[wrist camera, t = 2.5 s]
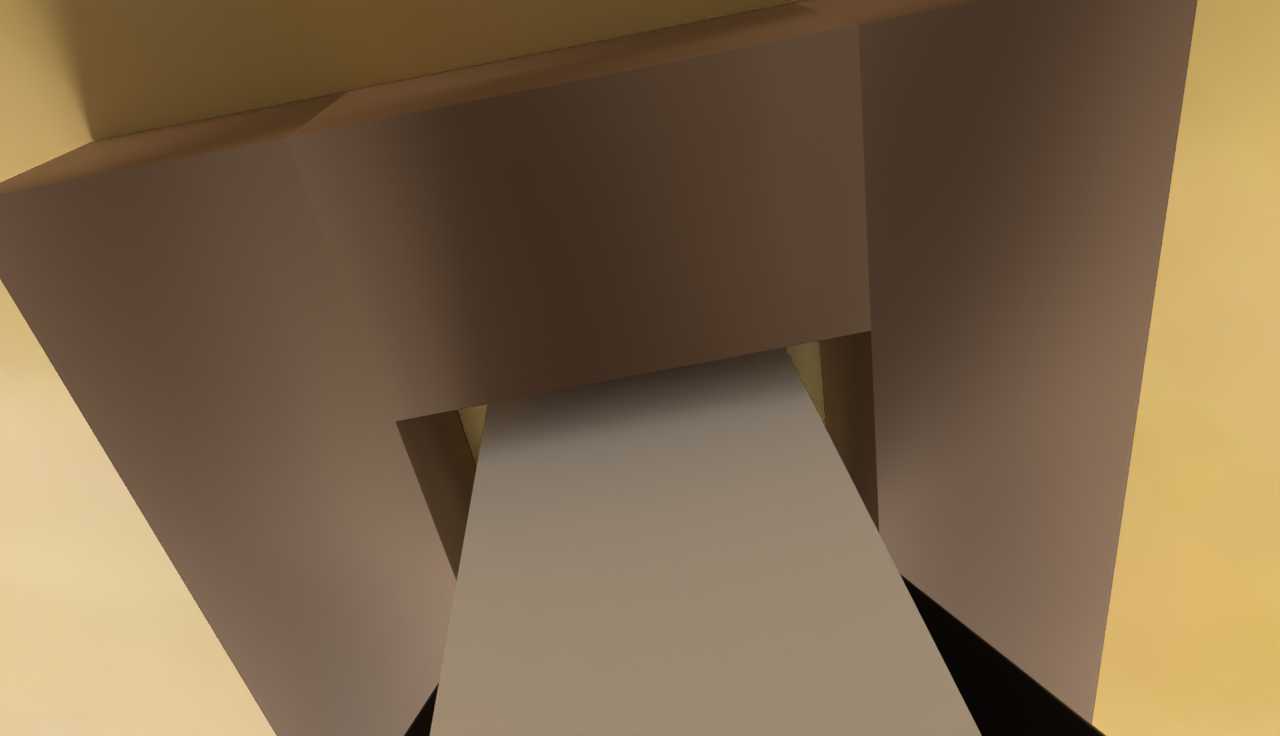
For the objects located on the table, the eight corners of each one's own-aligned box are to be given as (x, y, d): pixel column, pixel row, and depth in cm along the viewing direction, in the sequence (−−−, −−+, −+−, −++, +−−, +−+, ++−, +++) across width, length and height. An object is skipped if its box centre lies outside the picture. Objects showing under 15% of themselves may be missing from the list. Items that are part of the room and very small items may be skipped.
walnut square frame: (1061, -51, 10) (1202, -44, 8) (1013, 645, 16) (1086, 763, 13) (90, 142, 10) (-46, 203, 8) (399, 757, 16) (371, 892, 14)
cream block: (767, 312, 12) (1173, 1114, 4) (789, 525, 14) (1093, 1349, 6) (494, 364, 12) (337, 1256, 4) (555, 568, 14) (536, 1442, 6)
